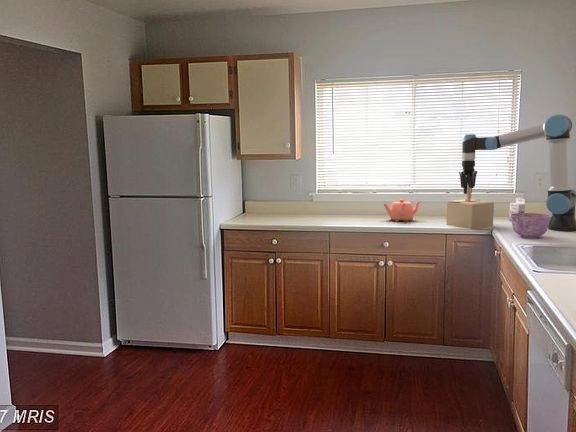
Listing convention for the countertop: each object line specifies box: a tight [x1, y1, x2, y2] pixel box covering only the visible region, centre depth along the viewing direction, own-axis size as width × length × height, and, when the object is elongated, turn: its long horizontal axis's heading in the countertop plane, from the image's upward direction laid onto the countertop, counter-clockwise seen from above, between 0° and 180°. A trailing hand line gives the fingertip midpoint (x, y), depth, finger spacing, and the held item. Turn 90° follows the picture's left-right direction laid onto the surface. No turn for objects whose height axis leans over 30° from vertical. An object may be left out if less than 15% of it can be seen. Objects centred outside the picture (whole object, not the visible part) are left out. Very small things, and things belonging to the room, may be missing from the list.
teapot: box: [383, 198, 422, 223], centre depth 351 cm, size 18×18×14 cm
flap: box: [447, 187, 481, 203], centre depth 331 cm, size 10×18×8 cm, turn 118°
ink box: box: [508, 197, 526, 222], centre depth 342 cm, size 8×5×15 cm, turn 17°
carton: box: [445, 200, 495, 230], centre depth 328 cm, size 20×18×14 cm
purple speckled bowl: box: [510, 212, 552, 239], centre depth 288 cm, size 20×20×12 cm
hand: (467, 198), depth 329 cm, fingers closed on flap, 2 cm apart
